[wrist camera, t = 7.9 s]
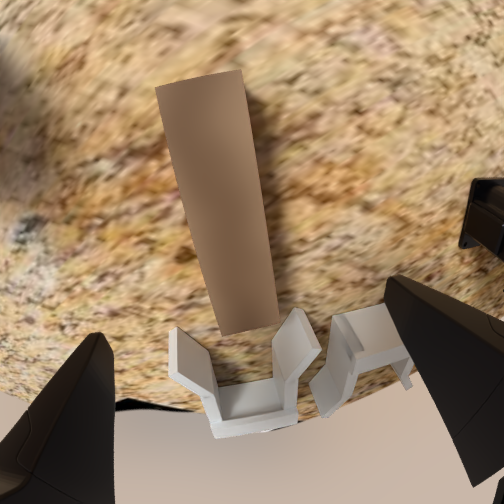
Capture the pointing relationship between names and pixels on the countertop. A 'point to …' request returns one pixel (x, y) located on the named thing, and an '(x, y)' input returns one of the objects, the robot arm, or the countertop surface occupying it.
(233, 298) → the slat
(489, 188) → the robot arm
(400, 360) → the end cap
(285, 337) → the end cap
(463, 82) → the countertop surface
